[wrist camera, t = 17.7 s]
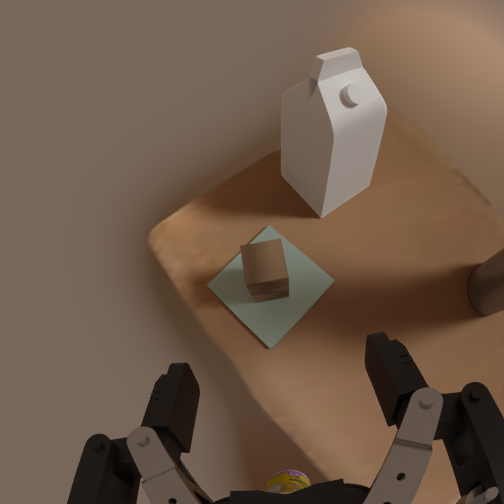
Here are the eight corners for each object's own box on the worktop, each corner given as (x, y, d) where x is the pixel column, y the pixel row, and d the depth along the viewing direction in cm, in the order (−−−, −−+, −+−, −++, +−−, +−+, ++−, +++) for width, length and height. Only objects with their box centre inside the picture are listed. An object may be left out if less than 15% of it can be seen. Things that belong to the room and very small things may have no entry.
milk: (328, 147, 51) (337, 31, 27) (369, 185, 47) (404, 65, 23) (280, 175, 50) (267, 49, 26) (320, 218, 45) (337, 87, 22)
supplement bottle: (318, 485, 29) (327, 526, 17) (284, 506, 28) (280, 550, 16) (291, 460, 31) (291, 497, 20) (257, 482, 30) (243, 522, 19)
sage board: (269, 226, 46) (268, 224, 46) (334, 281, 41) (334, 280, 41) (207, 286, 44) (206, 285, 43) (270, 349, 39) (270, 348, 38)
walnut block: (283, 265, 43) (280, 238, 33) (289, 296, 41) (288, 277, 31) (251, 271, 43) (240, 245, 34) (256, 302, 41) (245, 285, 32)
